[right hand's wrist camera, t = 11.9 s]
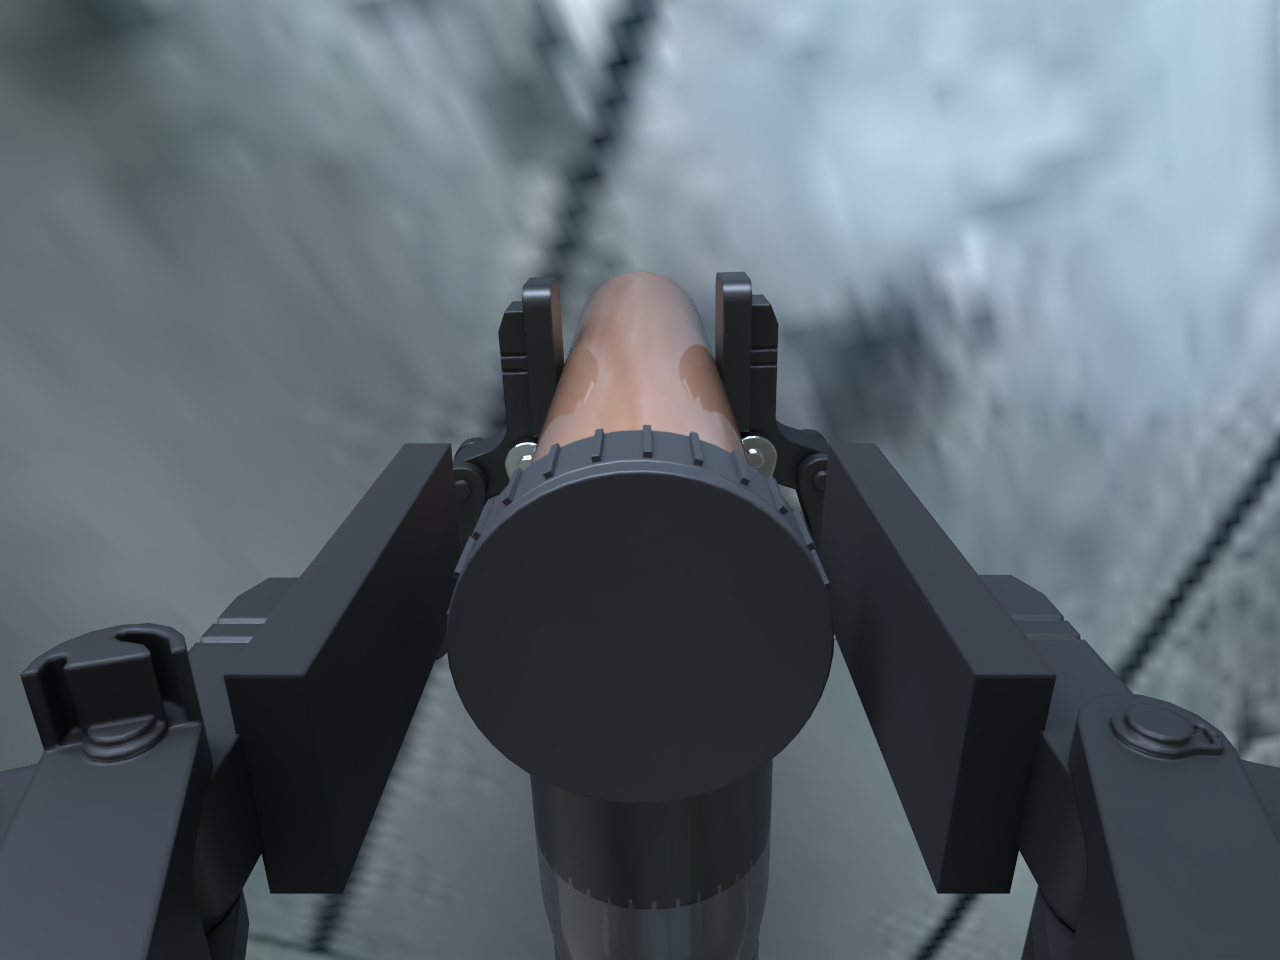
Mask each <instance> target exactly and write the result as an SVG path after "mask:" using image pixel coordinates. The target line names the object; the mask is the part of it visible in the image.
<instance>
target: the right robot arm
mask: <svg viewBox="0 0 1280 960" xmlns="http://www.w3.org/2000/svg"><path fill="white" fill-rule="evenodd" d="M460 557H461V553H460V542H459V530H458V519H457V508H456V496H455V485H454V473H453V462H452V450H451V444H404V446H403V447H402V448H401V449H400V451H399V452H398V453H397V455H396V456H395V457H394V458H393V460H392V461H391V462H390V463H389V465H388V466H387V467H386V469H385V470H384V471H383V472H382V474H381V475H380V476H379V477H378V479H377V480H376V481H375V483H374V484H373V485H372V486H371V488H370V489H369V490H368V491H367V493H366V494H365V495H364V497H363V498H362V499H361V500H360V502H359V503H358V504H357V505H356V507H355V508H354V509H353V510H352V512H351V513H350V514H349V516H348V517H347V518H346V519H345V521H344V522H343V523H342V524H341V526H340V527H339V528H338V530H337V531H336V532H335V533H334V535H333V536H332V537H331V538H330V540H329V541H328V542H327V544H326V545H325V546H324V547H323V549H322V550H321V551H320V552H319V554H318V555H317V556H316V558H315V559H314V560H313V561H312V563H311V564H310V565H309V566H308V568H307V569H306V570H305V571H304V573H303V574H302V575H301V577H300V578H268V579H267V580H265V581H263V582H262V583H260V584H258V585H256V586H255V587H253V588H251V589H250V590H248V591H246V592H245V593H243V594H241V595H240V596H238V597H237V598H236V599H235V600H234V601H233V602H232V603H231V604H230V605H229V607H228V608H227V609H226V610H225V611H224V612H223V613H222V614H221V615H220V617H219V618H218V619H217V624H212V626H211V627H210V628H209V629H208V630H207V631H206V632H205V633H204V635H203V636H202V637H201V638H200V643H196V644H195V645H194V646H193V647H192V648H191V649H190V650H189V651H187V647H186V643H185V639H184V636H183V635H182V634H180V633H179V632H178V631H176V630H175V629H173V628H172V627H168V626H162V625H156V624H150V623H147V624H130V625H119V626H115V627H111V628H106V629H102V630H97V631H93V632H89V633H87V634H84V635H82V636H79V637H77V638H74V639H71V640H69V641H66V642H64V643H61V644H59V645H58V646H56V647H54V648H53V649H51V650H49V651H48V652H46V653H44V654H43V655H41V656H39V657H38V658H36V659H35V660H34V661H33V662H32V663H31V664H30V665H29V666H28V667H27V668H26V669H25V670H24V671H23V672H22V673H21V675H20V676H21V679H22V682H23V686H24V689H25V692H26V695H27V698H28V701H29V704H30V707H31V710H32V714H33V717H34V720H35V723H36V726H37V729H38V732H39V735H40V739H41V742H42V745H43V748H44V753H43V755H42V757H41V759H40V761H39V763H38V764H34V765H30V766H26V767H21V768H16V769H11V770H6V771H1V772H0V960H245V955H246V946H247V938H248V929H249V919H248V912H247V906H246V902H245V897H244V893H243V889H242V888H243V887H244V885H245V883H246V881H247V879H248V877H249V875H250V873H251V872H252V870H253V868H254V866H255V864H256V862H257V860H258V859H259V857H260V855H261V853H262V857H263V861H264V866H265V871H266V875H267V880H268V885H269V889H270V894H342V893H343V891H344V888H345V886H346V883H347V881H348V878H349V876H350V873H351V871H352V868H353V866H354V863H355V861H356V858H357V855H358V853H359V850H360V848H361V845H362V843H363V840H364V838H365V835H366V833H367V830H368V828H369V825H370V823H371V820H372V818H373V815H374V813H375V810H376V808H377V805H378V803H379V800H380V798H381V795H382V793H383V790H384V788H385V785H386V783H387V780H388V778H389V775H390V773H391V770H392V767H393V765H394V762H395V760H396V757H397V755H398V752H399V750H400V747H401V745H402V742H403V740H404V737H405V735H406V732H407V730H408V727H409V725H410V722H411V720H412V717H413V715H414V712H415V710H416V707H417V705H418V702H419V700H420V697H421V695H422V692H423V690H424V687H425V684H426V682H427V679H428V677H429V674H430V672H431V669H432V667H433V664H434V662H435V659H436V657H437V654H438V652H439V649H440V647H441V644H442V642H443V639H444V637H445V634H446V632H447V611H448V609H449V606H450V601H451V598H452V595H453V592H454V589H455V586H456V583H457V580H458V579H455V578H453V574H454V571H455V569H456V566H457V564H458V562H459V560H460ZM819 560H820V562H821V564H822V567H823V569H824V571H825V573H826V576H827V578H828V580H829V583H830V587H831V589H830V590H827V593H828V596H829V600H830V604H831V608H832V614H833V623H834V634H835V637H836V639H837V642H838V644H839V647H840V649H841V652H842V654H843V657H844V659H845V662H846V664H847V667H848V669H849V672H850V674H851V677H852V679H853V682H854V685H855V687H856V690H857V692H858V695H859V697H860V700H861V702H862V705H863V707H864V710H865V712H866V715H867V717H868V720H869V722H870V725H871V727H872V730H873V732H874V735H875V737H876V740H877V742H878V745H879V747H880V750H881V752H882V755H883V757H884V760H885V762H886V765H887V768H888V770H889V773H890V775H891V778H892V780H893V783H894V785H895V788H896V790H897V793H898V795H899V798H900V800H901V803H902V805H903V808H904V810H905V813H906V815H907V818H908V820H909V823H910V825H911V828H912V830H913V833H914V835H915V838H916V840H917V843H918V845H919V848H920V850H921V853H922V856H923V858H924V861H925V863H926V866H927V868H928V871H929V873H930V876H931V878H932V881H933V883H934V886H935V888H936V891H937V893H938V894H1010V889H1011V885H1012V880H1013V875H1014V871H1015V866H1016V861H1017V857H1018V852H1019V850H1020V852H1021V854H1022V856H1023V858H1024V860H1025V862H1026V864H1027V865H1028V867H1029V869H1030V871H1031V873H1032V875H1033V877H1034V878H1035V880H1036V882H1037V884H1038V889H1037V893H1036V897H1035V902H1034V906H1033V910H1032V915H1031V919H1030V923H1029V928H1028V932H1027V936H1026V941H1025V945H1024V949H1023V954H1022V958H1021V960H1280V768H1278V767H1273V766H1268V765H1263V764H1258V763H1253V762H1249V761H1245V760H1241V759H1240V757H1239V755H1238V753H1237V751H1236V749H1235V748H1234V747H1233V745H1232V744H1231V743H1230V742H1229V740H1228V739H1227V738H1226V737H1225V735H1224V734H1223V733H1222V732H1221V731H1220V730H1218V729H1217V728H1215V727H1214V726H1213V725H1211V724H1210V723H1208V722H1207V721H1206V720H1204V719H1203V718H1201V717H1200V716H1198V715H1196V714H1194V713H1192V712H1190V711H1188V710H1185V709H1183V708H1181V707H1179V706H1176V705H1174V704H1172V703H1170V702H1166V701H1162V700H1158V699H1154V698H1151V697H1147V696H1143V695H1136V694H1133V693H1132V692H1131V691H1130V690H1129V689H1128V688H1127V686H1126V685H1125V684H1124V683H1123V682H1122V681H1121V680H1120V679H1119V678H1118V676H1117V675H1116V674H1115V673H1114V672H1113V671H1112V670H1111V669H1110V668H1109V666H1108V665H1107V664H1106V663H1105V662H1104V661H1103V660H1102V659H1101V658H1100V656H1099V655H1098V654H1097V653H1096V652H1095V651H1094V650H1093V649H1092V647H1091V646H1090V645H1089V644H1088V643H1087V642H1086V641H1085V640H1081V639H1080V634H1079V633H1078V632H1077V631H1076V630H1075V629H1074V627H1073V626H1072V625H1071V624H1070V623H1069V622H1068V621H1064V619H1063V618H1064V616H1063V615H1062V614H1061V613H1060V612H1059V611H1058V610H1057V609H1056V607H1055V606H1054V605H1053V604H1052V603H1051V602H1050V601H1049V600H1048V599H1047V597H1046V596H1045V595H1044V594H1042V593H1041V592H1039V591H1037V590H1036V589H1034V588H1032V587H1030V586H1029V585H1027V584H1025V583H1024V582H1022V581H1020V580H1019V579H1017V578H1015V577H1013V576H1012V575H978V574H977V573H976V572H975V570H974V569H973V568H972V566H971V565H970V564H969V563H968V561H967V560H966V559H965V558H964V556H963V555H962V554H961V552H960V551H959V550H958V549H957V547H956V546H955V545H954V544H953V542H952V541H951V540H950V538H949V537H948V536H947V535H946V533H945V532H944V531H943V530H942V528H941V527H940V526H939V524H938V523H937V522H936V521H935V519H934V518H933V517H932V516H931V514H930V513H929V512H928V511H927V509H926V508H925V507H924V505H923V504H922V503H921V502H920V500H919V499H918V498H917V497H916V495H915V494H914V493H913V491H912V490H911V489H910V488H909V486H908V485H907V484H906V483H905V481H904V480H903V479H902V477H901V476H900V475H899V474H898V472H897V471H896V470H895V469H894V467H893V466H892V465H891V463H890V462H889V461H888V460H887V458H886V457H885V456H884V455H883V453H882V452H881V451H880V449H879V448H878V447H877V446H876V444H829V450H828V462H827V473H826V485H825V496H824V507H823V519H822V530H821V542H820V553H819Z"/></svg>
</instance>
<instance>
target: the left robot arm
mask: <svg viewBox="0 0 1280 960" xmlns="http://www.w3.org/2000/svg"><path fill="white" fill-rule="evenodd" d="M498 333H499V344H500V354H501V365H502V376H503V386H504V397H505V408H506V418H507V428H506V429H505V430H503V431H502V432H500V433H498V434H495V435H493V436H490V437H488V438H485V439H483V438H471V439H468V440H466V441H465V442H463V443H462V444H461V446H460V447H459V449H458V451H457V452H456V454H455V457H454V461H453V473H454V485H455V496H456V508H457V519H458V530H459V542H460V553H461V555H462V553H463V550H464V548H465V546H466V543H467V541H468V539H469V537H470V536H472V534H473V531H474V529H475V527H476V525H477V522H478V520H479V518H480V515H481V513H482V511H483V508H484V506H485V504H486V502H487V501H488V499H491V497H494V496H496V495H499V494H500V493H501V492H502V491H503V490H504V489H505V488H506V487H507V486H508V484H509V482H510V479H511V477H512V474H513V472H514V471H515V470H516V469H517V468H518V467H519V468H520V469H521V470H522V471H524V470H525V469H526V468H527V467H529V465H530V462H531V459H532V456H533V454H534V451H535V448H536V445H537V442H538V439H539V436H540V433H541V430H542V428H543V425H544V422H545V419H546V416H547V413H548V410H549V407H550V404H551V402H552V399H553V396H554V393H555V390H556V387H557V384H558V381H559V378H560V376H561V373H562V370H563V367H564V354H563V339H562V324H561V309H560V294H559V284H558V278H557V277H539V278H529V280H528V281H527V282H526V283H525V284H524V286H523V291H522V301H517V302H512V303H511V304H510V306H509V307H508V308H507V309H506V311H505V312H504V316H503V319H502V322H501V325H500V329H499V332H498ZM777 346H778V322H777V320H776V317H775V314H774V312H773V309H772V306H771V304H770V303H769V302H768V300H767V299H766V298H765V297H764V295H752V286H751V280H750V278H749V277H748V276H747V275H746V274H745V272H721V273H717V275H716V353H715V362H716V365H717V368H718V371H719V374H720V377H721V379H722V382H723V385H724V388H725V391H726V394H727V397H728V400H729V403H730V405H731V408H732V411H733V414H734V417H735V420H736V423H737V426H738V428H739V431H740V434H741V437H742V440H743V443H744V446H745V449H746V451H747V454H748V457H749V460H750V463H751V466H752V467H754V468H755V469H756V470H757V471H758V472H759V473H761V474H762V475H763V476H764V477H765V478H766V479H767V478H768V477H770V476H773V477H774V478H775V479H776V481H777V484H780V485H783V486H787V487H790V488H793V489H796V492H797V496H798V499H799V502H800V505H801V509H802V512H803V515H804V518H805V522H806V525H807V528H808V531H809V533H810V535H811V538H812V540H813V542H814V545H815V547H816V548H815V550H816V553H817V555H818V557H819V553H820V542H821V530H822V519H823V507H824V496H825V485H826V473H827V462H828V450H829V445H828V443H827V442H826V440H825V438H824V437H823V436H822V435H821V434H820V433H819V432H817V431H815V430H811V429H803V430H797V429H794V428H791V427H788V426H785V425H783V424H781V423H779V422H778V421H777V420H776V417H775V413H776V381H777ZM446 639H447V632H446V634H445V637H444V639H443V642H442V644H441V647H440V649H439V652H438V654H437V657H436V659H435V660H437V659H439V658H441V657H443V656H444V655H445V654H446V652H447V646H446ZM834 639H836V637H835V634H834ZM772 762H773V758H772V759H771V760H770V761H769V762H768V763H766V764H765V765H763V766H762V767H760V768H759V769H757V770H756V771H754V772H753V773H751V774H749V775H748V776H746V777H744V778H742V779H740V780H738V781H736V782H734V783H732V784H730V785H728V786H726V787H723V788H720V789H717V790H715V791H712V792H709V793H706V794H703V795H699V796H695V797H691V798H687V799H683V800H676V801H669V802H661V803H637V804H635V803H621V802H611V801H605V800H599V799H594V798H589V797H585V796H582V795H578V794H575V793H571V792H568V791H565V790H563V789H560V788H558V787H556V786H553V785H551V784H548V783H546V782H544V781H542V780H540V779H539V778H537V777H535V776H533V775H531V774H530V776H531V787H532V797H533V809H534V819H535V829H536V839H537V850H538V859H539V869H540V880H541V888H542V894H543V899H544V904H545V909H546V912H547V916H548V920H549V923H550V926H551V930H552V933H553V937H554V943H555V956H556V960H758V944H759V940H758V939H759V930H760V925H761V921H762V917H763V912H764V907H765V902H766V896H767V889H768V877H769V851H770V823H771V791H772Z"/></svg>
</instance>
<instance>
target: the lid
mask: <svg viewBox="0 0 1280 960" xmlns="http://www.w3.org/2000/svg"><path fill="white" fill-rule="evenodd" d="M815 548H816V547H815V545H814V542H813V540H812V538H811V535H810V533H809V531H808V529H807V526H806V524H805V522H804V519H803V517H802V515H801V513H800V511H799V509H797V510H795V511H793V512H792V510H791V508H790V507H789V505H788V503H787V502H786V500H785V499H784V498H783V496H782V494H781V491H780V489H779V486H778V484H777V481H776V479H775V478H774V477H773V476H770V477H768V478H767V479H766V478H765V477H764V476H763V475H762V474H761V473H759V472H758V471H757V470H756V469H755V468H754V467H752V466H751V465H749V464H748V463H746V462H745V461H744V460H743V457H742V454H741V452H740V451H738V450H736V449H734V450H733V451H732V453H730V452H728V451H726V450H724V449H722V448H720V447H718V446H716V445H714V444H711V443H708V442H705V441H703V440H700V439H699V435H698V433H695V432H692V431H691V432H690V435H689V436H686V435H681V434H676V433H672V432H664V431H652V430H651V425H643V430H628V431H616V432H610V433H604V430H603V428H601V429H597V430H595V435H594V436H591V437H588V438H584V439H581V440H577V441H574V442H572V443H570V444H567V445H565V446H563V447H560V446H559V444H558V443H556V444H554V445H552V446H551V448H550V451H549V453H548V454H547V455H545V456H544V457H542V458H540V459H539V460H537V461H535V462H534V463H532V464H531V465H530V466H529V467H527V468H526V469H525V470H524V471H522V470H521V469H520V468H519V467H518V468H517V469H516V470H515V471H514V472H513V474H512V477H511V479H510V482H509V484H508V486H507V487H506V488H505V489H504V490H503V491H502V492H501V493H500V494H499V496H498V497H497V499H496V500H495V502H493V501H492V500H490V499H488V501H487V502H486V504H485V506H484V508H483V511H482V513H481V515H480V518H479V520H478V522H477V525H476V527H475V529H474V531H473V534H472V536H470V537H469V539H468V541H467V543H466V546H465V548H464V550H463V553H462V555H461V557H460V560H459V562H458V564H457V566H456V569H455V571H454V574H453V578H455V579H458V580H457V583H456V586H455V589H454V592H453V595H452V598H451V601H450V606H449V609H448V611H447V639H446V646H447V653H448V660H449V667H450V670H451V674H452V677H453V680H454V684H455V687H456V690H457V692H458V694H459V696H460V698H461V700H462V703H463V705H464V707H465V709H466V711H467V712H468V714H469V715H470V717H471V718H472V720H473V721H474V723H475V724H476V726H477V727H478V729H479V730H480V731H481V732H482V733H483V734H484V736H485V737H486V738H487V739H488V740H489V741H490V743H491V744H492V745H493V746H494V747H496V748H497V749H498V750H499V751H500V752H501V753H502V754H503V755H504V756H506V757H507V758H508V759H509V760H510V761H512V762H513V763H515V764H516V765H517V766H519V767H520V768H522V769H523V770H525V771H526V772H528V773H529V774H531V775H533V776H535V777H537V778H539V779H540V780H542V781H544V782H546V783H548V784H551V785H553V786H556V787H558V788H560V789H563V790H565V791H568V792H571V793H575V794H578V795H582V796H585V797H589V798H594V799H599V800H605V801H611V802H621V803H635V804H637V803H661V802H669V801H676V800H683V799H687V798H691V797H695V796H699V795H703V794H706V793H709V792H712V791H715V790H717V789H720V788H723V787H726V786H728V785H730V784H732V783H734V782H736V781H738V780H740V779H742V778H744V777H746V776H748V775H749V774H751V773H753V772H754V771H756V770H757V769H759V768H760V767H762V766H763V765H765V764H766V763H768V762H769V761H770V760H771V759H772V758H774V757H775V756H776V755H777V754H778V753H780V752H781V751H782V750H783V749H784V748H785V747H786V746H787V745H788V744H789V743H790V742H791V741H792V740H793V739H794V738H795V737H796V735H797V734H798V733H799V732H800V730H801V729H802V728H803V726H804V725H805V724H806V722H807V721H808V719H809V718H810V717H811V715H812V713H813V711H814V709H815V707H816V706H817V704H818V702H819V700H820V698H821V696H822V693H823V690H824V688H825V685H826V682H827V679H828V677H829V673H830V668H831V663H832V658H833V650H834V623H833V614H832V608H831V604H830V600H829V596H828V593H827V590H830V589H831V587H830V583H829V580H828V578H827V576H826V573H825V571H824V569H823V567H822V564H821V562H820V560H819V557H818V555H817V553H816V550H815Z"/></svg>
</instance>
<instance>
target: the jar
mask: <svg viewBox="0 0 1280 960" xmlns="http://www.w3.org/2000/svg"><path fill="white" fill-rule="evenodd" d="M643 425H651V430H652V431H664V432H672V433H676V434H681V435H686V436H689V435H690V432H691V431H692V432H695V433H698V435H699V439H700V440H703V441H705V442H708V443H711V444H714V445H716V446H718V447H720V448H722V449H724V450H726V451H728V452H730V453H732V451H733V450H734V449H736V450H738V451H740V452H741V454H742V457H743V460H744V461H745V462H746V463H748V464H749V465H751V463H750V460H749V457H748V454H747V451H746V449H745V446H744V443H743V440H742V437H741V434H740V431H739V428H738V426H737V423H736V420H735V417H734V414H733V411H732V408H731V405H730V403H729V400H728V397H727V394H726V391H725V388H724V385H723V382H722V379H721V377H720V374H719V371H718V368H717V365H716V362H715V359H714V356H713V354H712V351H711V348H710V345H709V342H708V339H707V336H706V333H705V331H704V328H703V325H702V322H701V319H700V316H699V313H698V311H697V309H696V306H695V305H694V303H693V301H692V300H691V298H690V297H689V296H688V294H687V293H686V292H685V291H684V290H683V289H682V288H681V287H680V286H678V285H677V284H675V283H674V282H673V281H671V280H669V279H667V278H665V277H662V276H659V275H656V274H651V273H643V272H640V273H629V274H624V275H621V276H618V277H616V278H614V279H612V280H610V281H608V282H606V283H605V284H603V285H602V286H601V287H600V288H599V289H597V290H596V292H595V293H594V294H593V295H592V296H591V297H590V299H589V300H588V302H587V303H586V305H585V308H584V310H583V312H582V315H581V318H580V321H579V324H578V326H577V329H576V332H575V335H574V338H573V341H572V344H571V347H570V350H569V352H568V355H567V358H566V361H565V364H564V367H563V370H562V373H561V376H560V378H559V381H558V384H557V387H556V390H555V393H554V396H553V399H552V402H551V404H550V407H549V410H548V413H547V416H546V419H545V422H544V425H543V428H542V430H541V433H540V436H539V439H538V442H537V445H536V448H535V451H534V454H533V456H532V459H531V462H530V465H531V464H532V463H534V462H535V461H537V460H539V459H540V458H542V457H544V456H545V455H547V454H548V453H549V451H550V448H551V446H552V445H554V444H556V443H558V444H559V446H560V447H563V446H565V445H567V444H570V443H572V442H574V441H577V440H581V439H584V438H588V437H591V436H594V435H595V430H597V429H601V428H603V430H604V433H610V432H616V431H628V430H643ZM530 465H529V466H530Z"/></svg>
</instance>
